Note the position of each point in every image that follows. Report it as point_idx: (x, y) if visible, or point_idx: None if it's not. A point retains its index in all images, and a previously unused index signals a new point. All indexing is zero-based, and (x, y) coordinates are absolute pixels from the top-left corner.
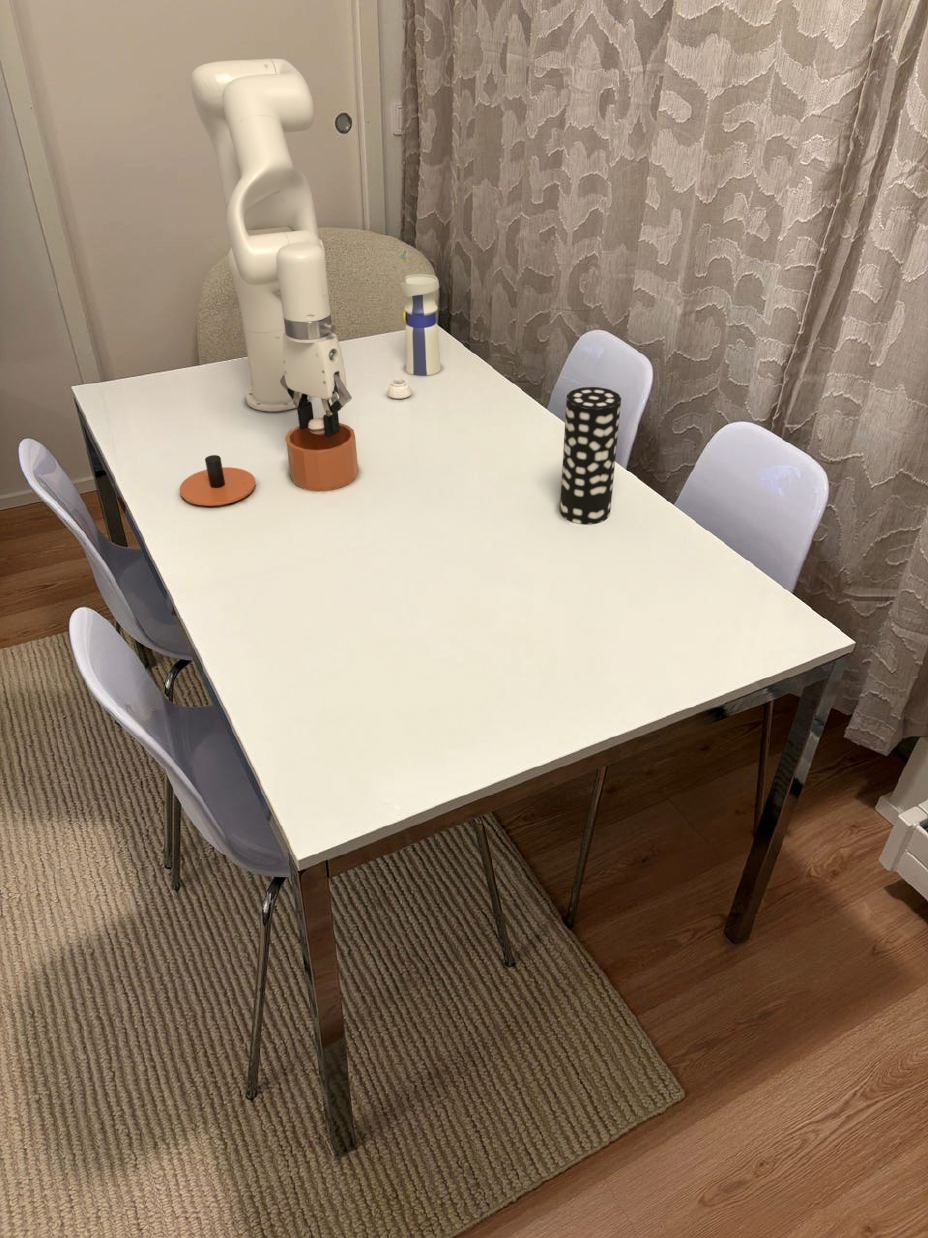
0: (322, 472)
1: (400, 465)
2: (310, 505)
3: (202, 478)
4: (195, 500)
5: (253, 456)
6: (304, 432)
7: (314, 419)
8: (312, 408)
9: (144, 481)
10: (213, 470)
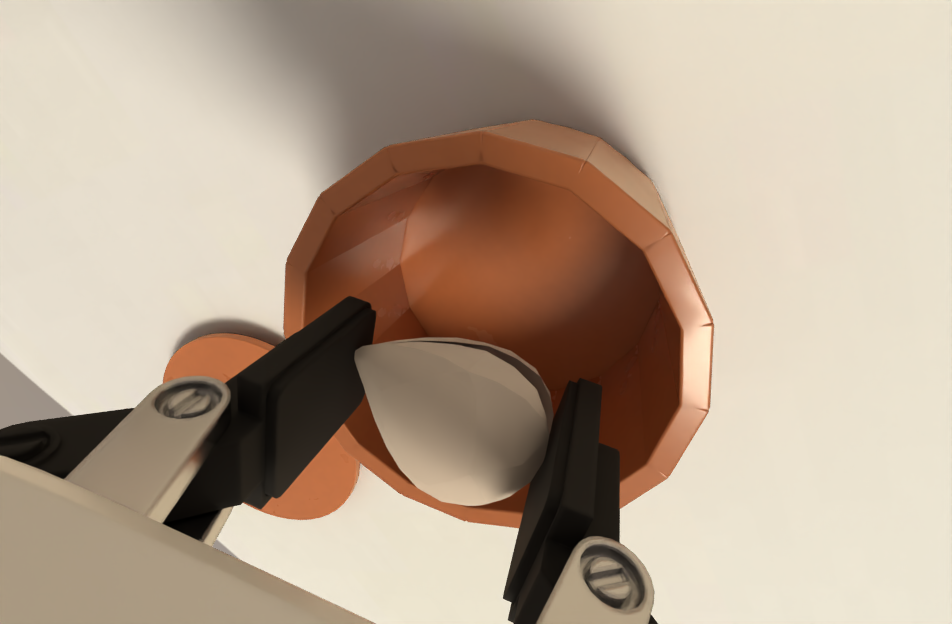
0: None
1: (931, 63)
2: None
3: None
4: (266, 509)
5: (204, 200)
6: (337, 249)
7: (401, 430)
8: (310, 365)
9: (97, 403)
10: None
